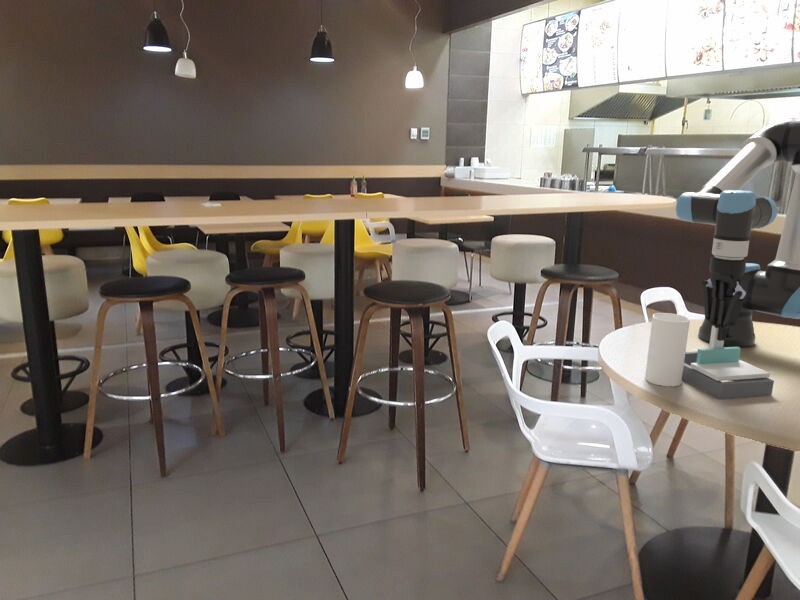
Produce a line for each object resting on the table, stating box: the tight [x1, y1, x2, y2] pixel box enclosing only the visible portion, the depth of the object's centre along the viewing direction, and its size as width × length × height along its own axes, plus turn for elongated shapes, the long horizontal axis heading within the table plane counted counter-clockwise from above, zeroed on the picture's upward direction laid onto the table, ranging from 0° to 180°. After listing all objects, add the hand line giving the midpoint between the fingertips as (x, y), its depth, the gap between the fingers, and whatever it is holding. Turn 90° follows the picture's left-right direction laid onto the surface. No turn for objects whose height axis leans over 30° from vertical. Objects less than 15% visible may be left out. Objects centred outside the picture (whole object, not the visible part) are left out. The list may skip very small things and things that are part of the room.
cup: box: [644, 312, 691, 388], centre depth 151 cm, size 8×8×16 cm
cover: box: [690, 346, 771, 382], centre depth 147 cm, size 14×9×4 cm
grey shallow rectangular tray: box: [682, 350, 775, 400], centre depth 153 cm, size 14×22×4 cm, turn 13°
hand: (715, 351), depth 153 cm, fingers closed
